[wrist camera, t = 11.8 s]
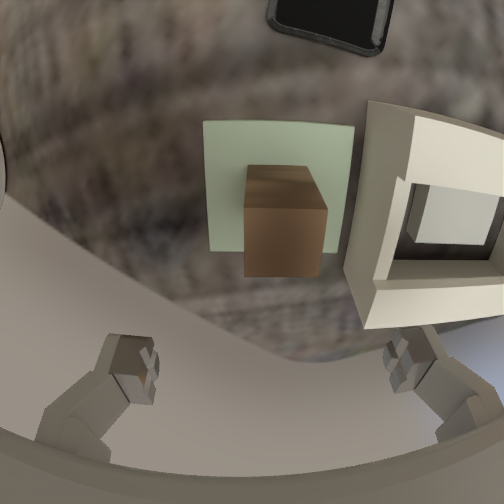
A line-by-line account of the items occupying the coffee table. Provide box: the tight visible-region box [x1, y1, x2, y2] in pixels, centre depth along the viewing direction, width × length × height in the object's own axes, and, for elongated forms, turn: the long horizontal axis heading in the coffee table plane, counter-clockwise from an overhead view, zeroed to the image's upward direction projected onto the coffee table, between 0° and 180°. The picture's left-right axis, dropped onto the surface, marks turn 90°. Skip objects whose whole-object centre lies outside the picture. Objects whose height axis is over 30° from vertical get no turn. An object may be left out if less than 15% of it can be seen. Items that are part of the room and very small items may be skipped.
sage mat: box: [203, 119, 355, 253], centre depth 21 cm, size 10×10×1 cm
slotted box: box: [343, 100, 504, 329], centre depth 19 cm, size 18×14×7 cm
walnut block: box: [244, 165, 328, 277], centre depth 18 cm, size 4×4×7 cm
